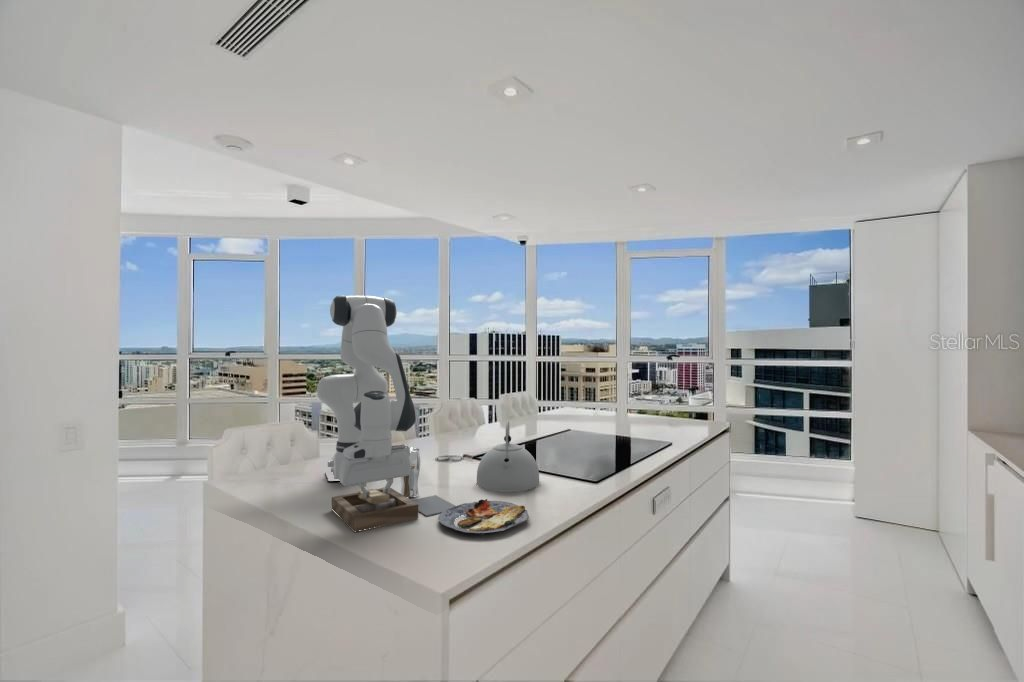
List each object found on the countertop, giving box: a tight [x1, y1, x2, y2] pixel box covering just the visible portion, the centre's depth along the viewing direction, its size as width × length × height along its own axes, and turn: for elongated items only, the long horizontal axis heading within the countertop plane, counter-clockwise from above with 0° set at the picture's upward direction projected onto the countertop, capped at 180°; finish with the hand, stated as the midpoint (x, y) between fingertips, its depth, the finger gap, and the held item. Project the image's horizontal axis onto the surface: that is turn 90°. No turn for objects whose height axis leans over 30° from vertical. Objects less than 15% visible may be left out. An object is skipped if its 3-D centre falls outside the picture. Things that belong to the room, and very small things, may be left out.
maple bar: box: [357, 488, 390, 504], centre depth 145 cm, size 14×4×2 cm, turn 35°
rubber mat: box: [411, 494, 457, 518], centre depth 152 cm, size 16×11×1 cm
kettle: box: [476, 419, 540, 493], centre depth 177 cm, size 25×23×22 cm
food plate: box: [437, 498, 530, 535], centre depth 138 cm, size 25×23×4 cm
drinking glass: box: [400, 447, 421, 498], centre depth 163 cm, size 7×7×15 cm
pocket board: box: [331, 487, 419, 532], centre depth 145 cm, size 22×18×4 cm
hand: (376, 495), depth 143 cm, fingers closed on maple bar, 4 cm apart
